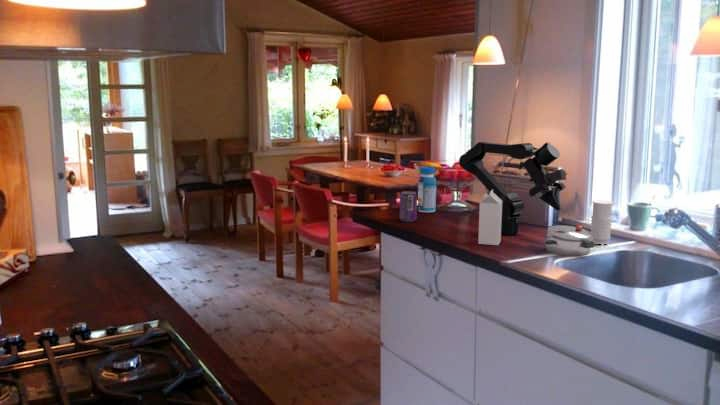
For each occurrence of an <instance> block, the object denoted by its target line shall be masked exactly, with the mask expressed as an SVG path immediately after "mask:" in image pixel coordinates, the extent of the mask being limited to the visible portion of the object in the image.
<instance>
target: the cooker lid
mask: <svg viewBox="0 0 720 405" xmlns="http://www.w3.org/2000/svg"><path fill="white" fill-rule="evenodd" d="M546 232H547V235H548V234H549V235H551V236H553V237H556V238H560V239H564V240H571V241H586V240H589V239H590V240H591V239H592V238H591V236H592V234H591V231H589V230H587V229H584V228H583V226H582V225H578V224H577V225H576V226H574V225H573V226H572V225H564V224H563V225H562V224H561V225H551V226H548V227H547V231H546Z"/></svg>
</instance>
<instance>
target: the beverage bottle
mask: <svg viewBox="0 0 720 405" xmlns="http://www.w3.org/2000/svg"><path fill="white" fill-rule="evenodd" d="M419 174H420V177H419V178H418V181H417V183H418V186H417V212H420V213H434V212H436V204H437V203H436V202H437V188H438V187H437V180H436V177H435V176H434V175H435V174H436V167H435V166H429V165H428V166H425V165H424V166H420V168H419Z"/></svg>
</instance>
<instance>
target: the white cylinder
mask: <svg viewBox="0 0 720 405" xmlns="http://www.w3.org/2000/svg"><path fill="white" fill-rule="evenodd" d="M613 204H614V202H612V201H610V200H602V199H601V200H599V199H598V200H597V199H596V200H593V201H592V216H590V218H591V220H590V222H591V223H590V228H591V231H590V233H591V234H592V236H591V239H592V240H591V241H593V242H594V244H593V245H596V244H608V243H609V241H608V240H610V239H611V229H612V219H613V218H612V211H613V210H612V208H613ZM608 245H609V244H608Z"/></svg>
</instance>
